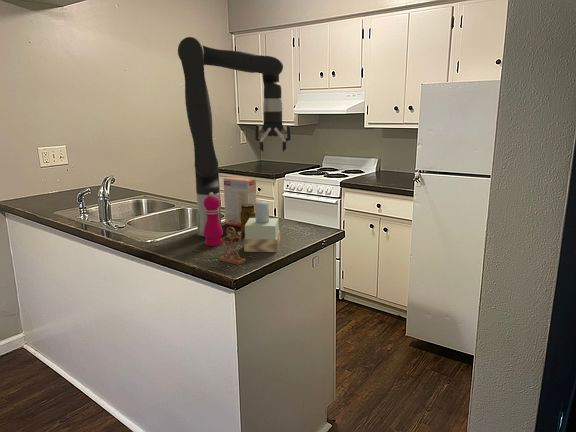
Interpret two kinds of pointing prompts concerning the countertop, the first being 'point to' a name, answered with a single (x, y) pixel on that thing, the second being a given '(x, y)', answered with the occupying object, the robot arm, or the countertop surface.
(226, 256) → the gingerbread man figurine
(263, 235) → the sage top block
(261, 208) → the blue round block
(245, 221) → the condiment
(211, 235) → the pepper mill
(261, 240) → the maple base block
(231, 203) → the cracker box
